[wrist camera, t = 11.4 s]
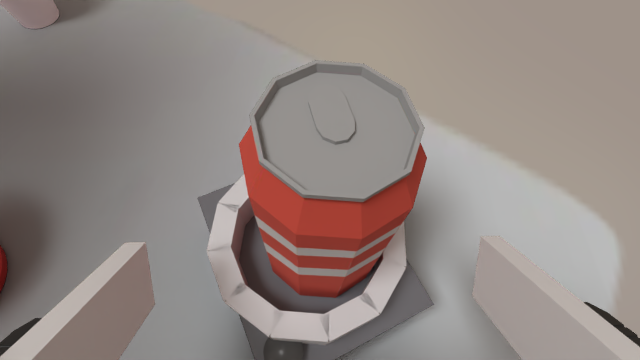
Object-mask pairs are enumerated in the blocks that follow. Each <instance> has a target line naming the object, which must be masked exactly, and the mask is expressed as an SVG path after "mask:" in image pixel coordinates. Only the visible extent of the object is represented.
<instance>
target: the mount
mask: <svg viewBox="0 0 640 360" xmlns="http://www.w3.org/2000/svg"><path fill="white" fill-rule="evenodd" d="M198 200H199V203H200V206H201V209H202V212H203V215H204V217H205V220H206V223H207V226H208V229H209V231H210V238H209V242H208V247H207V251H208V252H207V254H208V257H209V260H210V263H211V266H212V269H213V272H214V275H215V278H216V281H217V283H218V286H219V289H220V292H221V295H222V298H223V301H224V302H225V303H226V304H227V305H228V306H229V307H231V308H232V309H233V310H234V311H236V312H237V313H238V314H239V316H240V319H241V321H242V324H243V327H244V330H245V333H246V336H247V338H248V341H249V344H250V347H251V350H252V352H253V355H254V358H255V360H335V359H337V358H338V357H340V356H342V355H344V354H346V353H347V352H349V351H351V350H353V349H355V348H356V347H358V346H360V345H362V344H364V343H365V342H367V341H369V340H371V339H373V338H374V337H376V336H378V335H380V334H382V333H383V332H385V331H387V330H389V329H391V328H392V327H394V326H396V325H398V324H400V323H401V322H403V321H405V320H407V319H409V318H410V317H412V316H414V315H416V314H418V313H419V312H421V311H423V310H425V309H427V308H428V307H430V306H432V305H434V304H433V302H432V300H431V299H430V297H429V296H428V294H427V292H426V291H425V289H424V287H423V286H422V284H421V282H420V281H419V279H418V277H417V276H416V274H415V273H414V271H413V269H412V268H411V266H410V264H409V263H408V261H407V259H406V247H405V227H404V221H403V223H402V224H401V226H400V227H399V229H398V230H397V232H396V233H395V235H394V236H393V238H392V239H391V241H390V242H389V244H388V245H387V247H386V248H385V250H384V251H383V253H382V254H381V255H380V257H379V258H378V260H377V261H376V263H375V264H374V266H373V267H372V269H371V270H370V272H369V273H368V275H367V276H366V278H365V279H363V280H362V281H360V282H359V283H357V284H356V285H354V286H353V287H351V288H350V289H348V290H347V291H345V292H344V293H342V294H341V295H339V296H338V297H336V298H333V297H318V296H304V295H299V294H298V293H297V292H296V291H294V290H293V289H292V288H291V287H290V286H289V285H288V284H286V283H285V282H284V281H283V280H282V279H281V278H280V277H279V276H277V275H276V274H275V273H274V272H273V270H272V267H271V264H270V261H269V258H268V255H267V252H266V248H265V245H264V242H263V239H262V236H261V233H260V230H259V227H258V224H257V221H256V218H255V215H254V212H253V209H252V206H251V203H250V200H249V197H248V192H247V186H246V181H245V175H244V174H243V175H242V177H241V178H240V179H239V180H238V181H237V182H236V183H234V184H232V185H229V186H227V187H224V188H222V189H219V190H216V191H214V192H211V193H209V194H206V195H203V196H201V197H198Z"/></svg>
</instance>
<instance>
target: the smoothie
mask: <svg viewBox="0 0 640 360" xmlns="http://www.w3.org/2000/svg"><path fill="white" fill-rule="evenodd" d="M0 4H1V5H2V6H3V7H4V8H5V9H6V10H7V11H8V12H9V13H10V14H11V15H12V16H13V17H14V18H15V19H16V20H17V21H18V22H19V23H20V24H21V25H22V26H24V27H25V28H29V29H39V28H44V27H47V26H49V25H51V24H52V23H54V22H55V21H56V20H57V19H58V17H59V10H58V9H57V7H56V5H55V3H54V1H53V0H0Z"/></svg>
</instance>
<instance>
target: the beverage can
mask: <svg viewBox="0 0 640 360" xmlns="http://www.w3.org/2000/svg"><path fill="white" fill-rule="evenodd" d="M249 116H250V121H251V126H250V128H249V129H248V131H247V132H246V134H245V136H244V137H243V139H242V140H241V142H240V144H239V147H240V153H241V158H242V164H243V170H244V175H245V181H246V186H247V192H248V197H249V200H250V203H251V206H252V209H253V212H254V215H255V218H256V221H257V224H258V227H259V230H260V233H261V236H262V239H263V242H264V245H265V248H266V252H267V255H268V258H269V261H270V264H271V267H272V270H273V272H274V273H275V274H276V275H277V276H279V277H280V278H281V279H282V280H283V281H284V282H285V283H286V284H288V285H289V286H290V287H291V288H292V289H293V290H294V291H296V292H297V293H298V294H299V295H304V296H318V297H333V298H336V297H338V296H339V295H341V294H342V293H344V292H345V291H347V290H348V289H350V288H351V287H353V286H354V285H356V284H357V283H359V282H360V281H362V280H363V279H365V278H366V276H367V275H368V273H369V272H370V270H371V269H372V267H373V266H374V264H375V263H376V261H377V260H378V258H379V257H380V255H381V254H382V253H383V251H384V250H385V248H386V247H387V245H388V244H389V242H390V241H391V239H392V238H393V236H394V235H395V233H396V232H397V230H398V229H399V227H400V226H401V224H402V223H403V221H404V220H405V218H406V217H407V215H408V214H409V212H410V211H411V209H412V208H413V205H414V202H415V198H416V195H417V191H418V188H419V184H420V181H421V177H422V174H423V170H424V167H425V163H426V160H427V157H426V155H425V152H424V150H423V148H422V145H421V143H420V141H421V138H422V135H423V131H424V126H423V124H422V122H421V120H420V118H419V116H418V114H417V111H416V109H415V107H414V105H413V103H412V101H411V99H410V97H409V95H408V93H407V91H406V89H405V88H404V87H402V86H401V85H399V84H397V83H396V82H394V81H392V80H390V79H388V78H387V77H385V76H384V75H382V74H380V73H379V72H377V71H375V70H373V69H372V68H370V67H368V66H367V65H365V64H360V63H346V62H332V61H319V60H315V61H313V62H310V63H308V64H305V65H303V66H301V67H298V68H296V69H294V70H291V71H289V72H286V73H284V74H282V75H279V76H277V77H275V78H272V80H271V82H270V83H269V85H268V86H267V88H266V90H265V91H264V93H263V94H262V96H261V97H260V99H259V101H258V102H257V104H256V105H255V107H254V108H253V110H252V112H251V113H250V115H249Z"/></svg>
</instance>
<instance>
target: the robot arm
mask: <svg viewBox="0 0 640 360" xmlns="http://www.w3.org/2000/svg"><path fill="white" fill-rule="evenodd" d="M472 296H473V298H474V299H475V300H476V302H477V303H478V304H479V305H480V307H481V308H482V309H483V311H484V312H485V313H486V314H487V316H488V317H489V318H490V319H491V321H492V322H493V323H494V325H495V326H496V327H497V328H498V330H499V331H500V332H501V333H502V335H503V336H504V337H505V339H506V340H507V341H508V342H509V344H510V345H511V346H512V347H513V349H514V350H515V351H516V353H517V354H518V355H519V356H520V358H521V359H522V360H640V338H638V337H637V335H636V334H635V333H634V332H632V331H631V330H630V329H628V328H625V327H624V325H623V324H622V323H621V322H619V321H618V320H617V319H615V318H614V317H613V316H611V315H610V314H609V313H607V312H605V311H603V310H602V309H600V308H598V307H596V306H594V305H592V304H590V303H588V302H582V301H581V300H580V299H578V298H577V297H576V296H575V295H573V294H572V293H571V292H570V291H568V290H567V289H566V288H565V287H563V286H562V285H561V284H559V283H558V282H557V281H556V280H554V279H553V278H552V277H551V276H549V275H548V274H547V273H546V272H544V271H543V270H542V269H541V268H539V267H538V266H537V265H535V264H534V263H533V262H532V261H530V260H529V259H528V258H527V257H525V256H524V255H523V254H522V253H520V252H519V251H518V250H517V249H515V248H514V247H513V246H511V245H510V244H509V243H508V242H506V241H505V240H504V239H503V238H501V237H500V236H481V239H480V246H479V253H478V260H477V267H476V273H475V280H474V287H473V294H472ZM154 305H155V301H154V294H153V288H152V281H151V274H150V268H149V261H148V254H147V248H146V242H130V243H124V244H123V245H122V246H121V247H120V248H119V249H118V250H116V251H115V252H114V253H113V254H112V255H111V256H110V257H109V258H108V259H107V260H106V261H104V262H103V263H102V264H101V265H100V266H99V267H98V268H97V269H96V270H95V271H93V272H92V273H91V274H90V275H89V276H88V277H87V278H86V279H85V280H84V281H83V282H81V283H80V284H79V285H78V286H77V287H76V288H75V289H74V290H73V291H72V292H71V293H69V294H68V295H67V296H66V297H65V298H64V299H63V300H62V301H61V302H60V303H58V304H57V305H56V306H55V307H54V308H53V309H52V310H51V311H50V312H49V313H48V314H46V315H45V316H44V317H43V318H35V319H33V320H32V321H30V322H28V323H27V324H25V325H23V326H21V327H20V328H18V329H16V330H14V331H13V332H12V333H11V334H10V335H9V336H7V337H6V338H5V339H4V340H3V341H2V342H0V360H118V359H119V358H120V356H121V355H122V353H123V352H124V350H125V349H126V347H127V346H128V344H129V343H130V341H131V340H132V338H133V337H134V335H135V334H136V332H137V331H138V329H139V328H140V326H141V325H142V323H143V322H144V320H145V319H146V317H147V316H148V314H149V313H150V311H151V310H152V308H153V306H154Z"/></svg>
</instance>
